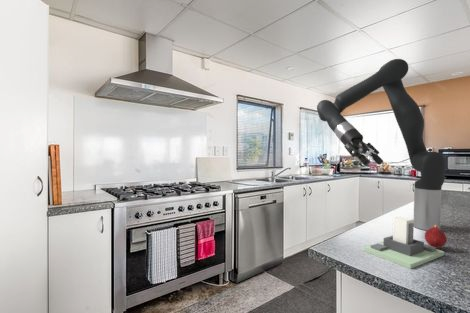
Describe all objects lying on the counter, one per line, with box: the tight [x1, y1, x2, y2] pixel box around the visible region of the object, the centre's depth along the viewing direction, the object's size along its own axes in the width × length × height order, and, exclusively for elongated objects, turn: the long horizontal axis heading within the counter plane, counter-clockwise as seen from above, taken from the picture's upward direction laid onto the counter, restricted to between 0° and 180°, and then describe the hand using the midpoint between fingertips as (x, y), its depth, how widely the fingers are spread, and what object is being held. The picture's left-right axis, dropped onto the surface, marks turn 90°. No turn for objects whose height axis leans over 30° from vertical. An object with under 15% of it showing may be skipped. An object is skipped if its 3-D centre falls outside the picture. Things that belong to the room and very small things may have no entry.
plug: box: [392, 216, 415, 245], centre depth 79 cm, size 4×5×10 cm
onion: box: [424, 225, 448, 250], centre depth 83 cm, size 6×6×8 cm
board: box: [363, 235, 445, 270], centre depth 79 cm, size 20×14×4 cm
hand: (374, 163), depth 92 cm, fingers open, 8 cm apart
